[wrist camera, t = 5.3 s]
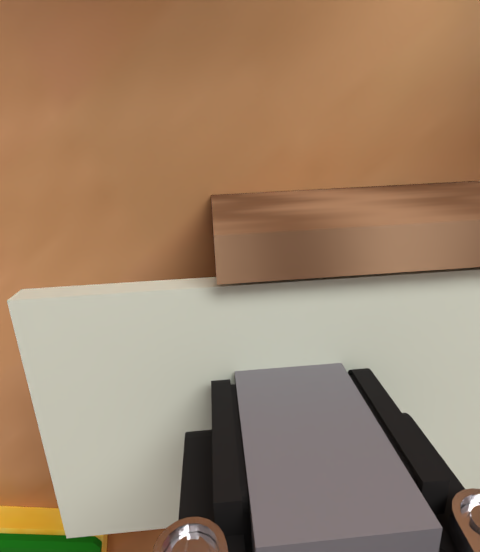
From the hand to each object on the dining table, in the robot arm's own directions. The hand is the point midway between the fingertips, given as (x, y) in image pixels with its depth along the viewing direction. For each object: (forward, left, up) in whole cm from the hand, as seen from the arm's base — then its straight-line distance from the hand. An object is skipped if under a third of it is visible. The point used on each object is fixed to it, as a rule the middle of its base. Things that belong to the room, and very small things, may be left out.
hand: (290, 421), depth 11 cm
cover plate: (0, 0, -1) cm, 1 cm away
